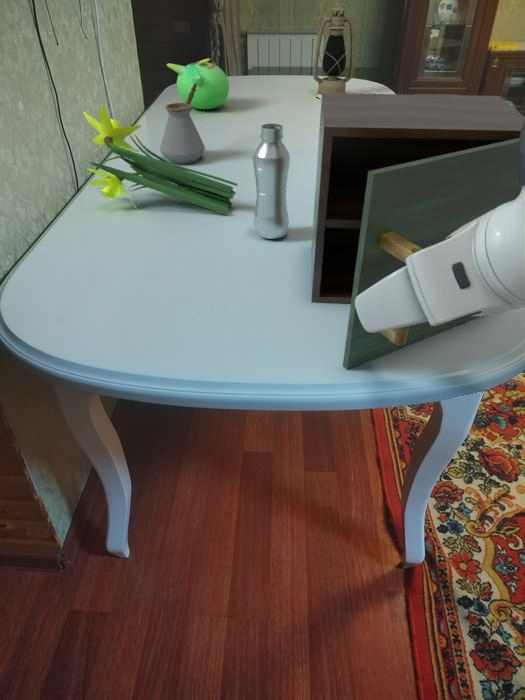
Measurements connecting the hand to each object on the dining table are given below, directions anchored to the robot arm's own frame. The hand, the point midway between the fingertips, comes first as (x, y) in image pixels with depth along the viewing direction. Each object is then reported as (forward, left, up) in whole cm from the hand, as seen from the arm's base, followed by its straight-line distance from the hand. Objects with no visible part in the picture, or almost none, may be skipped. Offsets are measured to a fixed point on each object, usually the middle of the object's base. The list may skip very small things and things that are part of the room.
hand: (402, 302), depth 58 cm
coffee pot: (+42, -88, -13) cm, 98 cm away
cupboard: (-4, -27, -12) cm, 30 cm away
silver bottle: (+17, -41, -13) cm, 46 cm away
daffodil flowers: (+41, -55, -13) cm, 70 cm away
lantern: (+2, -155, -13) cm, 155 cm away
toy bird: (+46, -134, -13) cm, 142 cm away
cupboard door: (-7, -7, -12) cm, 16 cm away
